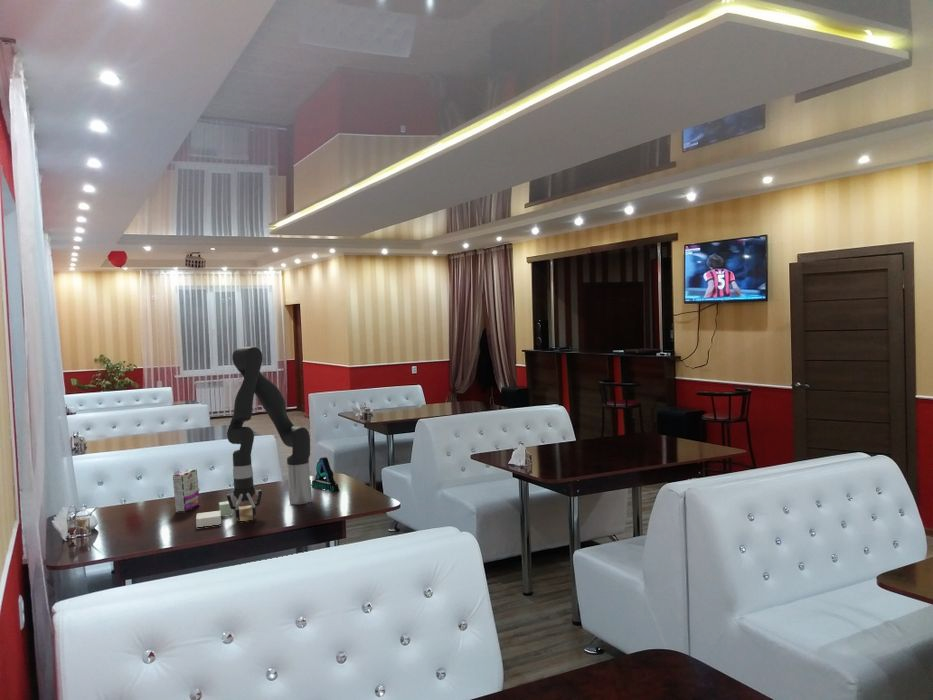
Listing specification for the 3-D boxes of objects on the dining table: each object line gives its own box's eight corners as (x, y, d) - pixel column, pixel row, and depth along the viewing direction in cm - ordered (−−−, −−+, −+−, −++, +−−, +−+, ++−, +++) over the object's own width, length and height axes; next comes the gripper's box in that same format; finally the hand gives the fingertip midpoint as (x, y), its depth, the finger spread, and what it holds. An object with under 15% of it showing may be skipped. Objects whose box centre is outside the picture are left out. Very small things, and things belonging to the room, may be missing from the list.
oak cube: (252, 517, 288) (251, 505, 288) (253, 520, 283) (252, 508, 283) (239, 519, 286) (238, 507, 286) (240, 522, 282) (239, 509, 281)
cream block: (221, 520, 287) (220, 510, 287) (221, 526, 279) (220, 516, 279) (197, 523, 284) (196, 513, 284) (196, 529, 276) (196, 519, 276)
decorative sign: (339, 491, 325) (337, 459, 324) (335, 492, 323) (333, 460, 322) (315, 486, 338) (313, 455, 337) (311, 487, 336) (309, 456, 335)
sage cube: (232, 512, 298) (231, 500, 297) (232, 515, 293) (232, 503, 293) (219, 514, 296) (218, 502, 296) (220, 517, 291) (219, 505, 291)
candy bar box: (190, 505, 313) (187, 468, 312) (200, 505, 312) (197, 468, 311) (174, 512, 302) (172, 474, 301) (185, 512, 301) (182, 474, 300)
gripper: (260, 471, 290) (263, 512, 291) (223, 476, 285) (226, 517, 286) (262, 475, 283) (265, 517, 284) (224, 480, 278) (227, 522, 279)
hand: (245, 517), depth 285 cm, fingers closed on oak cube, 5 cm apart
